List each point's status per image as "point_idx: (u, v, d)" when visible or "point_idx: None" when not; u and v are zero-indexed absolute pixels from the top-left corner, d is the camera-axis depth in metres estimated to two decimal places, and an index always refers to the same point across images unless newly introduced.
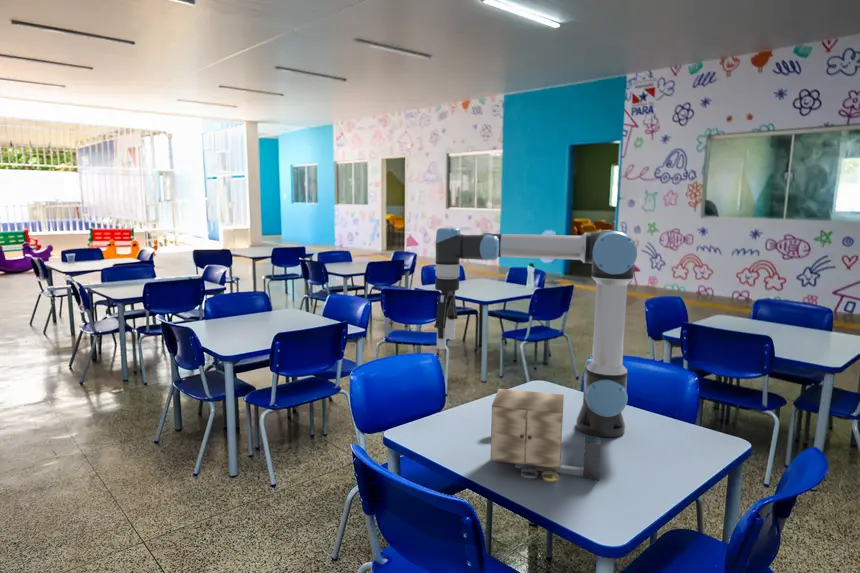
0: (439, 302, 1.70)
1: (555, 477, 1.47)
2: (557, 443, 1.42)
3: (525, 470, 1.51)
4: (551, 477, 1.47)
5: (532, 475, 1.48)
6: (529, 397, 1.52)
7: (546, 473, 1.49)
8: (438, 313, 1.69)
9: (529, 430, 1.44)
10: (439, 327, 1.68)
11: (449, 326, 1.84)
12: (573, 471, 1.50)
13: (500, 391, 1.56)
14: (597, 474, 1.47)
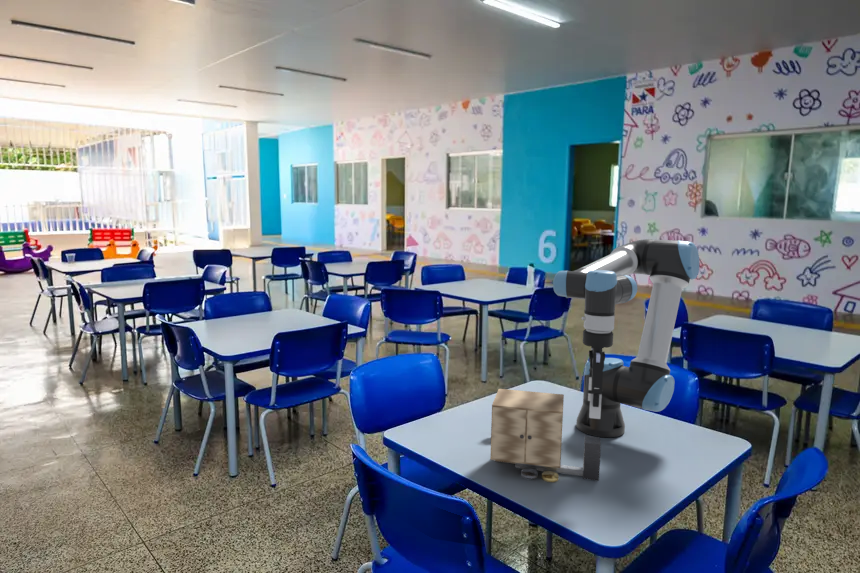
0: (594, 362, 1.39)
1: (555, 477, 1.47)
2: (557, 443, 1.42)
3: (525, 470, 1.51)
4: (551, 477, 1.47)
5: (532, 475, 1.48)
6: (529, 397, 1.52)
7: (546, 473, 1.49)
8: (594, 376, 1.38)
9: (529, 430, 1.44)
10: (596, 393, 1.38)
11: None
12: (573, 471, 1.50)
13: (500, 391, 1.56)
14: (597, 474, 1.47)
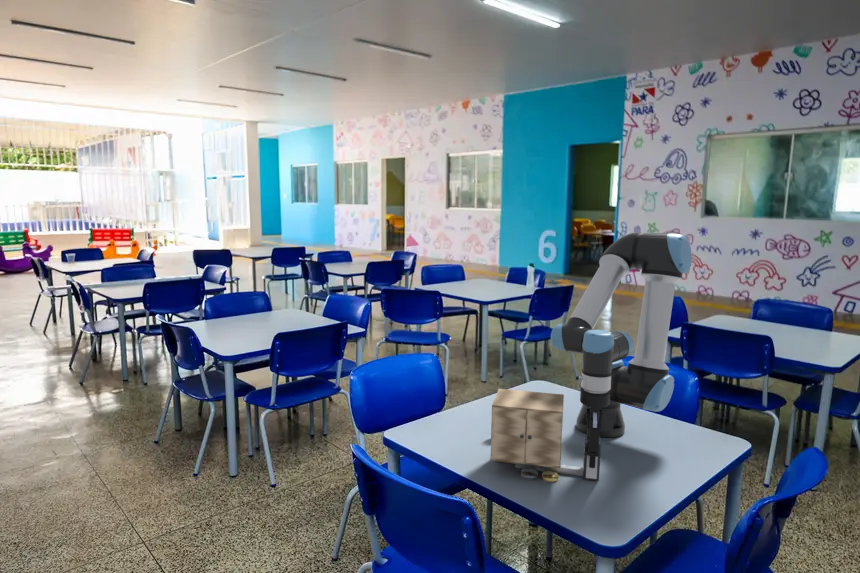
0: (591, 428, 1.42)
1: (555, 477, 1.47)
2: (557, 443, 1.42)
3: (525, 470, 1.51)
4: (551, 477, 1.47)
5: (532, 475, 1.48)
6: (529, 397, 1.52)
7: (546, 473, 1.49)
8: (590, 441, 1.43)
9: (529, 430, 1.44)
10: (592, 456, 1.44)
11: None
12: (573, 471, 1.50)
13: (500, 391, 1.56)
14: (597, 474, 1.47)
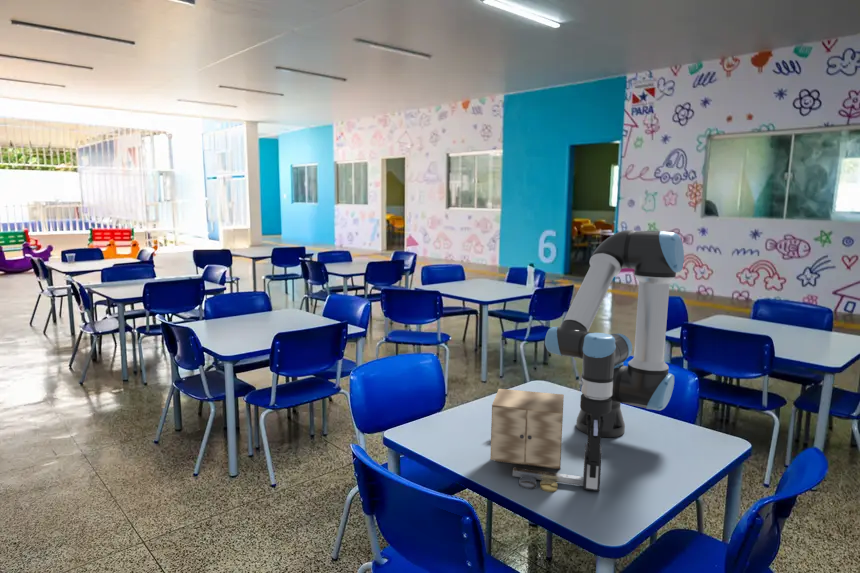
0: (592, 436, 1.36)
1: (554, 486, 1.42)
2: (557, 443, 1.42)
3: (523, 479, 1.46)
4: (549, 486, 1.42)
5: (531, 484, 1.43)
6: (529, 397, 1.52)
7: (545, 482, 1.44)
8: (591, 449, 1.36)
9: (529, 430, 1.44)
10: None
11: None
12: (573, 480, 1.44)
13: (500, 391, 1.56)
14: (598, 484, 1.40)
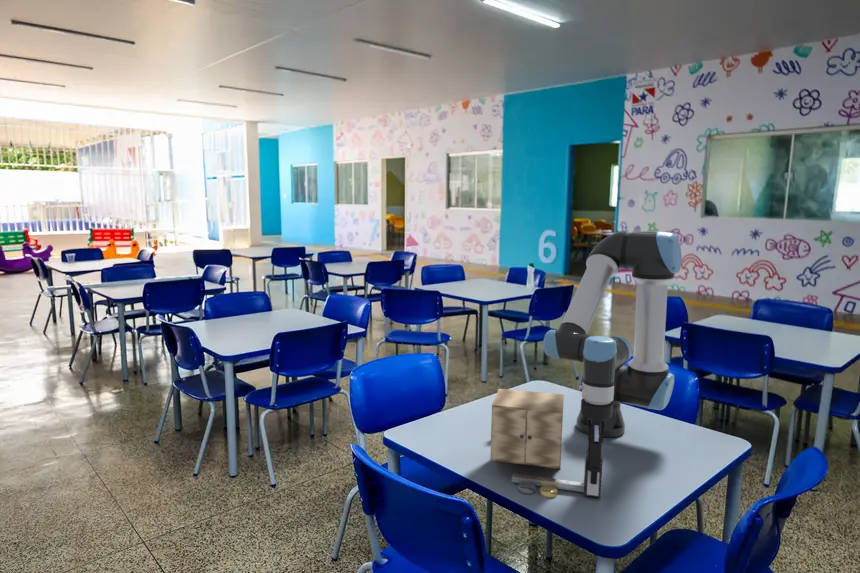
0: (593, 442, 1.33)
1: (553, 492, 1.39)
2: (557, 443, 1.42)
3: (522, 484, 1.43)
4: (549, 493, 1.39)
5: (530, 490, 1.40)
6: (529, 397, 1.52)
7: (544, 488, 1.41)
8: (592, 455, 1.33)
9: (529, 430, 1.44)
10: (594, 471, 1.34)
11: None
12: (573, 487, 1.41)
13: (500, 391, 1.56)
14: (599, 490, 1.38)
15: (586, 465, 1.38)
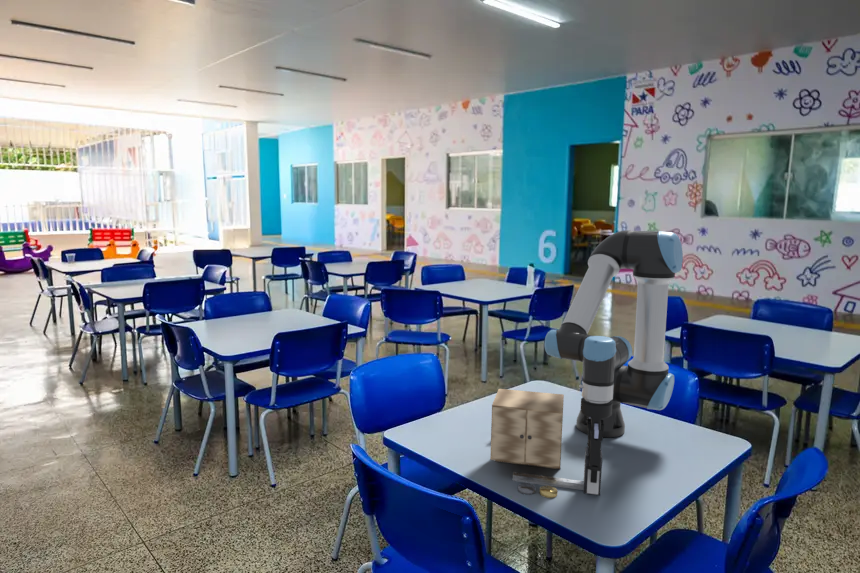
0: (592, 439, 1.34)
1: (554, 492, 1.39)
2: (557, 443, 1.42)
3: (522, 485, 1.43)
4: (550, 493, 1.39)
5: (530, 490, 1.40)
6: (529, 397, 1.52)
7: (544, 488, 1.41)
8: (591, 453, 1.34)
9: (529, 430, 1.44)
10: (594, 470, 1.35)
11: None
12: (573, 485, 1.43)
13: (500, 391, 1.56)
14: None
15: (586, 463, 1.40)
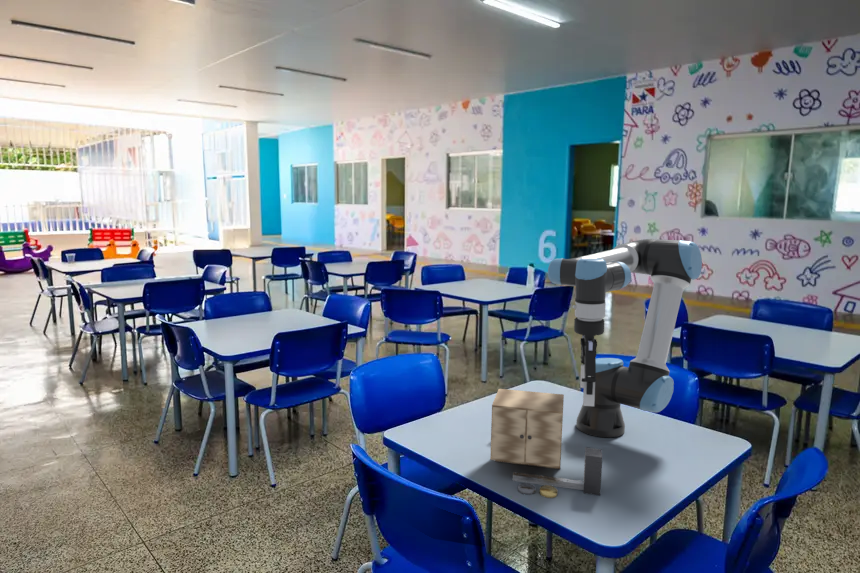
0: (587, 351, 1.40)
1: (555, 492, 1.39)
2: (557, 443, 1.42)
3: (522, 485, 1.43)
4: (551, 493, 1.39)
5: (530, 490, 1.40)
6: (529, 397, 1.52)
7: (544, 488, 1.41)
8: (587, 364, 1.39)
9: (529, 430, 1.44)
10: (589, 381, 1.38)
11: (584, 372, 1.54)
12: (573, 485, 1.43)
13: (500, 391, 1.56)
14: (598, 488, 1.40)
15: (586, 463, 1.40)
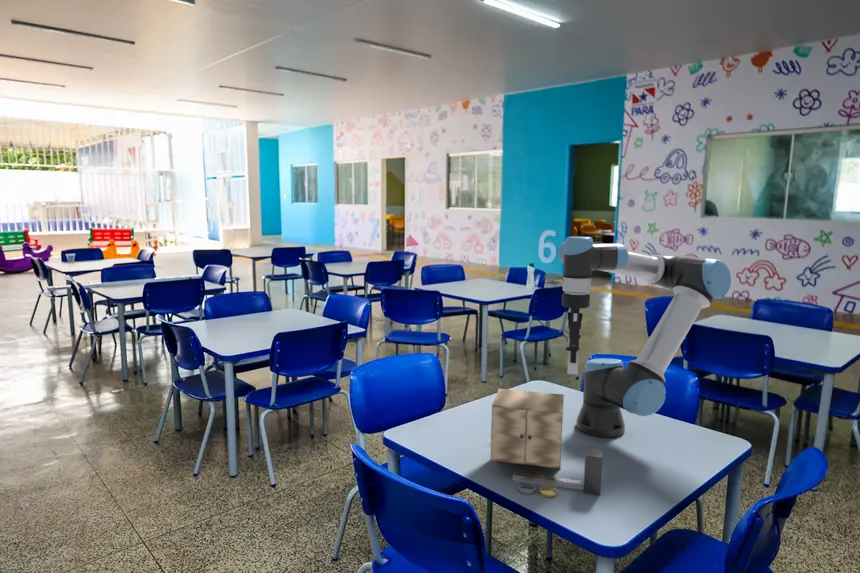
0: (572, 321, 1.49)
1: (555, 489, 1.40)
2: (557, 443, 1.42)
3: (522, 485, 1.43)
4: (553, 491, 1.39)
5: (530, 490, 1.40)
6: (529, 397, 1.52)
7: (544, 489, 1.40)
8: (571, 334, 1.48)
9: (529, 430, 1.44)
10: (573, 350, 1.48)
11: None
12: (573, 485, 1.43)
13: (500, 391, 1.56)
14: (598, 488, 1.40)
15: (586, 463, 1.40)
